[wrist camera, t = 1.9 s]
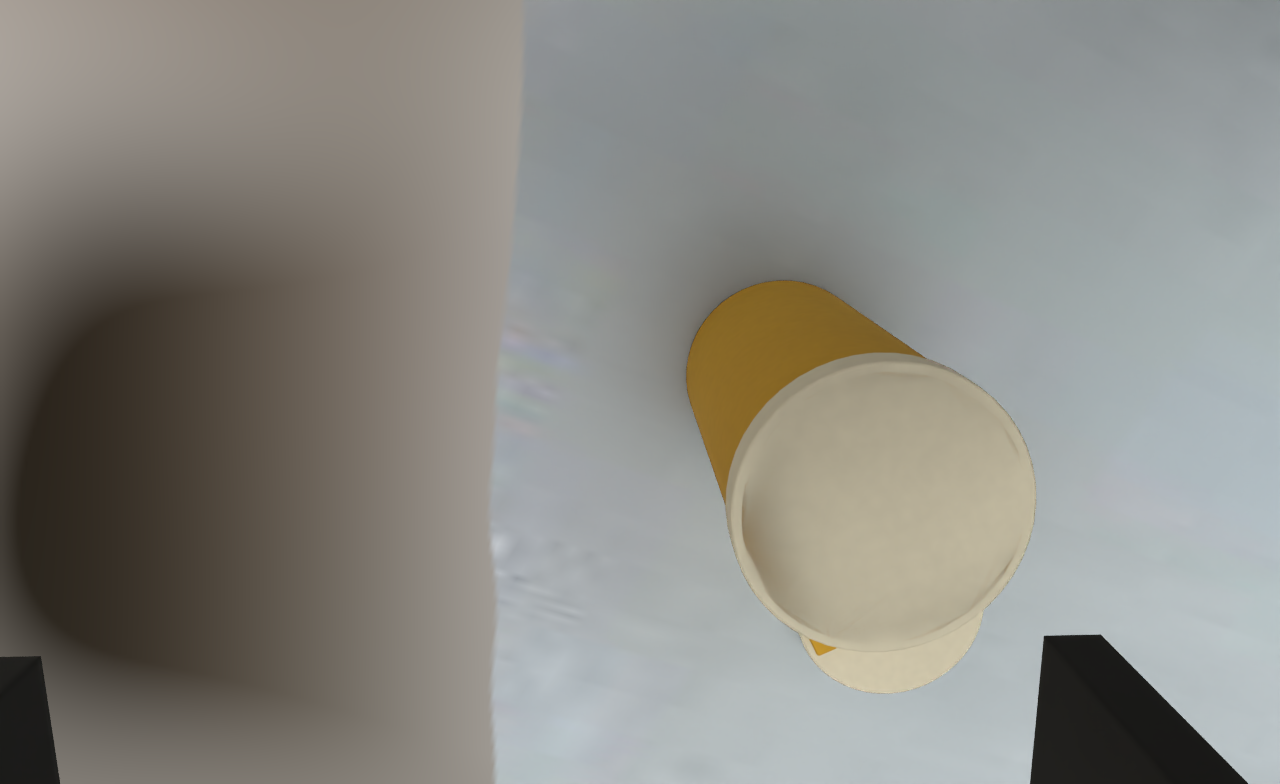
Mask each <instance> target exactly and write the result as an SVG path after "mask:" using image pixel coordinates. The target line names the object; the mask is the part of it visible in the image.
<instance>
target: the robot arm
mask: <svg viewBox="0 0 1280 784" xmlns="http://www.w3.org/2000/svg"><path fill="white" fill-rule="evenodd" d="M0 784H60V780H59V773H58V767H57V760H56V753H55V747H54V740H53V734H52V727H51V720H50V714H49V707H48V701H47V694H46V687H45V681H44V675H43V668H42V661H41V656H32V657H0ZM1030 784H1248V783H1247V782H1246V781H1245V780H1244V779H1243V778H1242V777H1241V776H1240V775H1239V774H1238V773H1237V772H1236V771H1235V770H1234V769H1233V768H1232V767H1231V766H1230V765H1229V764H1228V763H1227V762H1226V761H1225V760H1224V759H1223V758H1222V757H1221V756H1220V755H1219V754H1218V753H1217V752H1216V751H1215V750H1214V749H1213V748H1212V746H1211V745H1210V744H1209V743H1208V742H1207V741H1206V740H1205V739H1204V738H1203V737H1202V736H1201V735H1200V734H1199V733H1198V732H1197V731H1196V730H1195V729H1194V728H1193V727H1192V726H1191V725H1190V724H1189V723H1188V722H1187V721H1186V720H1185V719H1184V718H1183V717H1182V716H1181V715H1180V714H1179V713H1178V712H1177V711H1176V710H1175V709H1174V708H1173V707H1172V706H1171V705H1170V704H1169V703H1168V702H1167V701H1166V700H1165V699H1164V698H1163V697H1162V696H1161V695H1160V694H1159V693H1158V692H1157V691H1156V690H1155V689H1154V688H1153V687H1152V686H1151V685H1150V684H1149V683H1148V682H1147V681H1146V680H1145V679H1144V678H1143V677H1142V676H1141V675H1140V674H1139V673H1138V672H1137V671H1136V670H1135V669H1134V668H1133V667H1132V666H1131V665H1130V664H1129V663H1128V662H1127V661H1126V660H1125V659H1124V658H1123V657H1122V656H1121V655H1120V654H1119V653H1118V652H1117V651H1116V650H1115V649H1114V648H1113V647H1112V646H1111V645H1110V644H1109V643H1108V642H1107V641H1106V640H1105V639H1104V638H1103V637H1102V636H1101V635H1061V636H1044V642H1043V652H1042V663H1041V674H1040V684H1039V695H1038V706H1037V716H1036V727H1035V738H1034V748H1033V759H1032V769H1031V780H1030Z"/></svg>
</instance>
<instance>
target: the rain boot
mask: <svg viewBox="0 0 1280 784" xmlns="http://www.w3.org/2000/svg"><path fill="white" fill-rule="evenodd" d="M686 382H687V391H688V395H689V399H690V403H691V406H692V409H693V412H694V415H695V418H696V421H697V424H698V427H699V430H700V433H701V435H702V438H703V441H704V444H705V447H706V450H707V453H708V456H709V459H710V462H711V465H712V468H713V470H714V473H715V476H716V479H717V482H718V485H719V488H720V491H721V494H722V497H723V500H724V502H725V505H726V516H727V526H728V530H729V534H730V538H731V542H732V546H733V549H734V552H735V555H736V558H737V560H738V563H739V565H740V568H741V570H742V573H743V575H744V577H745V579H746V580H747V582H748V584H749V586H750V587H751V589H752V591H753V592H754V593H755V595H756V596H757V597H758V599H759V600H760V601H761V602H762V604H763V605H764V606H765V607H766V608H767V609H768V610H769V611H770V612H771V613H772V614H773V615H774V616H775V617H776V618H777V619H779V620H780V621H781V622H783V623H784V624H786V625H787V626H788V627H790V628H791V629H792V630H794V631H796V632H798V633H799V635H800V638H801V640H802V643H803V645H804V647H805V649H806V651H807V653H808V654H809V656H810V657H811V659H812V660H813V661H814V663H815V664H816V665H817V666H818V667H819V668H820V669H821V670H822V671H823V672H824V673H825V674H827V675H828V676H830V677H831V678H832V679H834V680H836V681H837V682H839V683H841V684H843V685H845V686H848V687H850V688H853V689H856V690H860V691H864V692H870V693H898V692H904V691H908V690H912V689H916V688H918V687H921V686H924V685H926V684H928V683H930V682H932V681H934V680H936V679H937V678H939V677H940V676H942V675H943V674H945V673H946V672H948V671H949V670H950V669H951V668H952V667H953V666H955V665H956V664H957V663H958V661H959V660H960V659H961V658H962V657H963V656H964V655H965V653H966V652H967V651H968V649H969V648H970V646H971V645H972V643H973V641H974V639H975V637H976V635H977V632H978V630H979V627H980V624H981V620H982V616H983V610H984V609H985V608H986V607H987V606H989V605H990V603H991V602H992V601H993V600H994V599H995V598H996V597H997V596H998V595H999V594H1000V593H1001V591H1002V590H1003V589H1004V587H1005V586H1006V585H1007V583H1008V582H1009V580H1010V579H1011V578H1012V576H1013V575H1014V573H1015V571H1016V569H1017V567H1018V566H1019V564H1020V562H1021V560H1022V558H1023V556H1024V553H1025V551H1026V548H1027V545H1028V543H1029V540H1030V536H1031V532H1032V528H1033V524H1034V518H1035V509H1036V482H1035V476H1034V470H1033V464H1032V461H1031V458H1030V455H1029V452H1028V448H1027V446H1026V444H1025V441H1024V439H1023V437H1022V435H1021V433H1020V431H1019V429H1018V428H1017V426H1016V425H1015V423H1014V422H1013V420H1012V419H1011V417H1010V416H1009V414H1008V413H1007V412H1006V411H1005V410H1004V409H1003V408H1002V406H1001V405H1000V404H999V403H998V402H997V401H996V400H995V399H994V398H993V397H992V396H990V395H989V394H988V393H987V392H985V391H984V390H983V389H982V388H981V387H979V386H978V385H976V384H975V383H973V382H972V381H970V380H969V379H967V378H966V377H964V376H962V375H961V374H959V373H957V372H956V371H954V370H953V369H951V368H949V367H946V366H944V365H942V364H939V363H937V362H935V361H932V360H929V359H926V358H925V357H923V356H922V355H920V354H919V353H918V352H916V351H915V350H913V349H912V348H910V347H909V346H907V345H906V344H905V343H903V342H902V341H900V340H899V339H897V338H896V337H894V336H893V335H891V334H890V333H889V332H887V331H886V330H884V329H883V328H881V327H880V326H878V325H877V324H875V323H874V322H873V321H871V320H870V319H868V318H867V317H865V316H864V315H862V314H861V313H859V312H858V311H857V310H855V309H854V308H852V307H851V306H849V305H848V304H846V303H845V302H844V301H842V300H841V299H839V298H838V297H836V296H834V295H833V294H831V293H830V292H828V291H826V290H824V289H822V288H819V287H817V286H814V285H811V284H807V283H804V282H797V281H771V282H764V283H760V284H757V285H753V286H751V287H748V288H746V289H743V290H741V291H739V292H737V293H736V294H734V295H732V296H730V297H729V298H728V299H726V300H725V301H724V302H722V303H721V304H720V305H719V306H718V307H717V308H716V309H715V310H713V311H712V312H711V314H710V315H709V316H708V317H707V319H706V320H705V321H704V322H703V324H702V326H701V327H700V329H699V330H698V332H697V334H696V336H695V339H694V341H693V343H692V346H691V349H690V353H689V356H688V362H687V372H686Z"/></svg>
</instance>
